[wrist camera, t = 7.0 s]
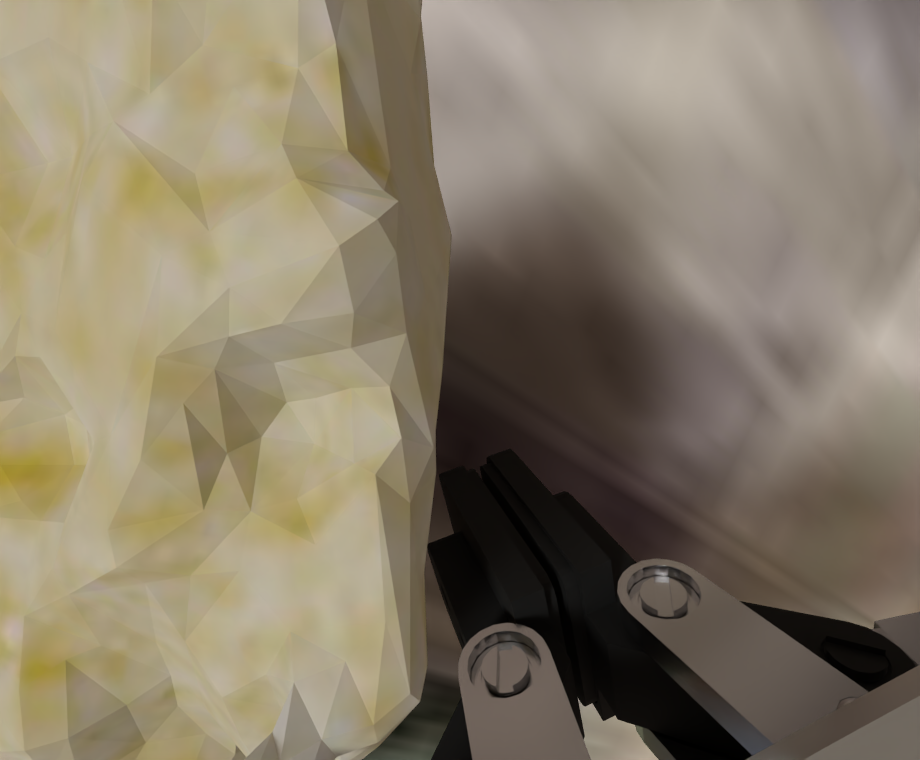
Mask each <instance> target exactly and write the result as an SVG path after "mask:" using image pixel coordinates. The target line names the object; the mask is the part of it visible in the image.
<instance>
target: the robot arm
mask: <svg viewBox="0 0 920 760" xmlns="http://www.w3.org/2000/svg"><path fill="white" fill-rule="evenodd" d="M480 471H481V475H482V479H481V478H480V476H479V475H478V473H477V472H476V470H475V469H472V470H469V471H466V469H465V468H464V467H463V466H461V467H458V468H455V469H452V470H449V471H447V472H444V473H441V474H439V478H440V482H441V486H442V490H443V494H444V497H445V501H446V505H447V508H448V512H449V516H450V519H451V523H452V527H453V531H454V534H452V535H450V536H447V537H445V538H442V539H439V540H437V541H434V542H432V543H429V544H428V545H427V549H428V552H429V556H430V559H431V563H432V566H433V569H434V573H435V576H436V579H437V582H438V585H439V588H440V591H441V594H442V597H443V600H444V603H445V605H446V608H447V611H448V614H449V616H450V619H451V621H452V624H453V627H454V629H455V632H456V634H457V637H458V640H459V642H460V645H461V647H462V653H461V656H460V659H459V661H458V679H459V684H460V690H461V696H462V697H461V699H460V701H459V703H458V706H457V708H456V710H455V712H454V714H453V716H452V718H451V720H450V722H449V724H448V726H447V728H446V730H445V732H444V734H443V736H442V738H441V740H440V742H439V744H438V746H437V748H436V750H435V752H434V755H433V757H432V759H431V760H591V758H590V756H589V753H588V750H587V748H586V745H585V742H584V730H583V725H582V719H581V714H580V709H579V703H578V698H579V700H580V702H581V703H582V704H583V706H587V705H589V704H591V703H593V705H594V706H595V708H596V710H597V711H598V713H599V715H600V716H601V718H602V720H603V721H605V720H607V719H609V718H611V717H613V716H616V717H617V719H618V720H621V721H624V722H627V723H631V724H634V725H635V727H636V730H637V732H638V734H639V735H640V737H641V738H642V740H643V742H644V743H645V744H646V745H647V747H648V748H649V749H650V750H651V751H652V752H653V754H654V755H655V756H656V757H657V758H658V759H659V760H920V612H917V613H912V614H907V615H902V616H898V617H893V618H888V619H883V620H878V621H875V622H874V629H869V628H867V627H863V626H860V625H856V624H853V623H850V622H845V621H840V620H835V619H830V618H825V617H819V616H814V615H809V614H804V613H798V612H793V611H788V610H783V609H778V608H772V607H767V606H762V605H757V604H752V603H746V602H741V601H738V600H737V599H736V598H734V597H733V596H731V595H730V594H728V593H727V592H726V591H724V590H723V589H721V588H720V587H719V586H717V585H716V584H714V583H713V582H711V581H710V580H709V579H707V578H706V577H704V576H703V575H701V574H700V573H699V572H697V571H696V570H694V569H692V568H690V567H688V566H687V565H685V564H683V563H679V562H676V561H672V560H668V559H650V560H643V561H640V562H638V563H636V562H635V561H634V560H633V559H632V558H631V557H630V556H629V555H628V554H627V552H626V551H625V550H624V549H623V548H622V547H621V546H620V545H619V544H618V543H617V542H616V541H615V540H614V539H613V538H612V537H611V536H610V535H609V534H608V533H607V532H606V531H605V530H604V529H603V528H602V526H601V525H600V524H599V523H598V522H597V521H596V520H595V519H594V518H593V517H592V516H591V515H590V514H589V513H588V512H587V511H586V510H585V509H584V508H583V507H582V506H581V505H580V504H579V503H578V502H577V501H576V499H575V498H574V497H573V496H572V495H570V494H569V493H568V492H565V491H564V492H561V493H558V494H556V495H552V494H551V493H550V492H549V491H548V489H547V488H546V487H545V486H544V485H543V484H542V483H541V482H540V481H539V479H538V478H537V477H536V476H535V475H534V474H533V473H532V472H531V471H530V469H529V468H528V467H527V466H526V465H525V464H524V463H523V462H522V461H521V459H520V458H519V457H518V456H517V455H516V454H515V453H514V452H513V451H512V450H511V449H508V450H505V451H502V452H499V453H497V454H494V455H491V456H488V457H487V464H485V465H483V466H481V467H480ZM482 480H483V481H482ZM577 697H578V698H577Z"/></svg>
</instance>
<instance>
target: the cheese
mask: <svg viewBox="0 0 920 760" xmlns="http://www.w3.org/2000/svg"><path fill="white" fill-rule="evenodd" d="M421 8H422V0H0V760H362V759H363V758H364V757H366V756H367V755H368V754H370V753H371V752H372V751H373V750H375V749H376V748H377V747H378V746H380V744H381V743H382V742H383V741H384V740H385V739H386V738H387V737H388V736H389V735H390V734H391V733H392V732H393V730H394V729H395V728H396V727H397V726H398V725H399V724H400V723H401V722H402V721H403V720H404V719H405V717H406V716H407V715H408V714H409V713H410V712H411V711H412V710H413V709H414V708H415V707H416V706H417V704H418V703H419V702H420V700H421V695H422V690H423V685H424V680H425V675H426V671H427V666H428V664H427V635H426V606H425V577H424V570H425V562H426V553H427V545H428V536H429V528H430V519H431V511H432V503H433V494H434V486H435V477H436V433H435V431H436V423H437V414H438V405H439V397H440V388H441V379H442V368H443V353H444V338H445V324H446V309H447V294H448V279H449V265H450V250H451V231H450V227H449V223H448V219H447V215H446V211H445V207H444V203H443V199H442V195H441V191H440V187H439V183H438V179H437V175H436V171H435V168H434V158H433V145H432V132H431V119H430V106H429V93H428V80H427V69H426V60H425V50H424V41H423V32H422V22H421Z"/></svg>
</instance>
